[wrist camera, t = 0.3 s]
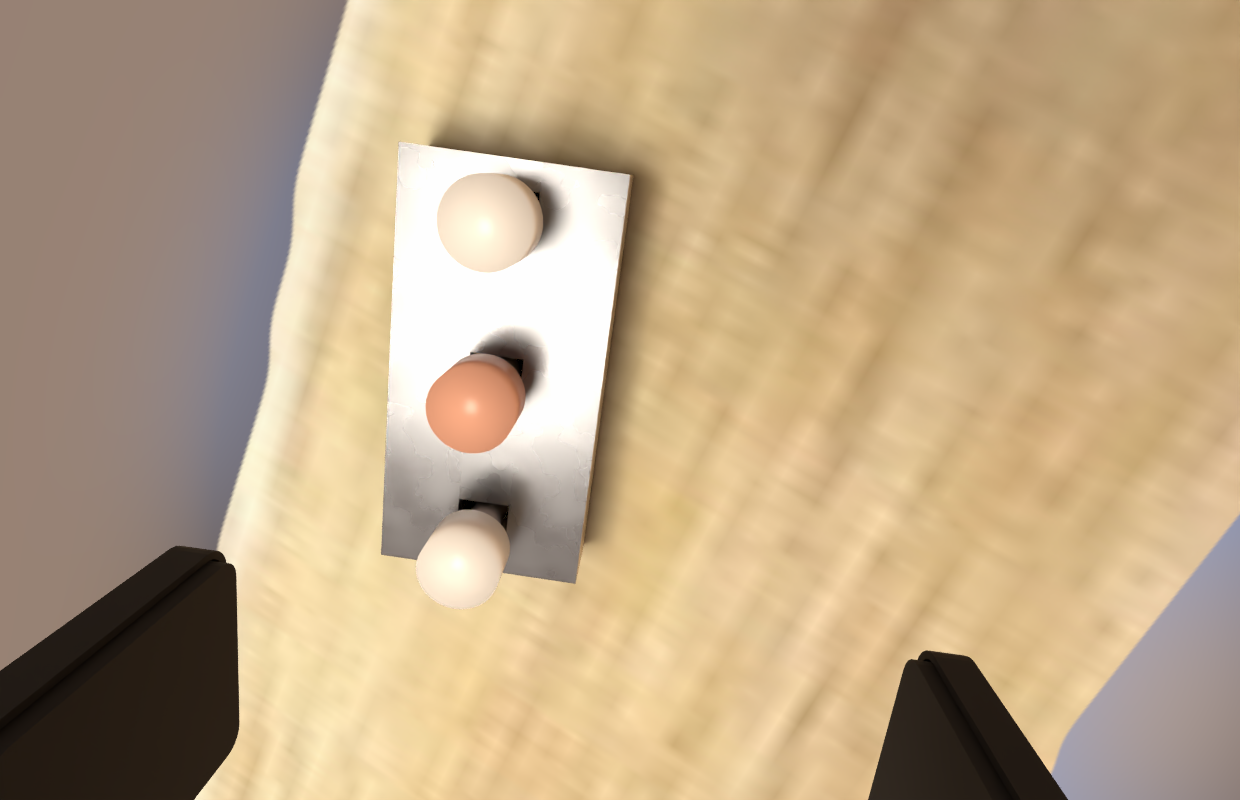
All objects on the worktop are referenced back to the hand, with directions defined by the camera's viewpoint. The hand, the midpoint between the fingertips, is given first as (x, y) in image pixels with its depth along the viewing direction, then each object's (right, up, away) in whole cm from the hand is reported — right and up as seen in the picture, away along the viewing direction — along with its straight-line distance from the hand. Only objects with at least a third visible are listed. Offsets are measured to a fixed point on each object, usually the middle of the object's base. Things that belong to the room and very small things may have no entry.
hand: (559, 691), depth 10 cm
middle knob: (-6, +6, +33) cm, 34 cm away
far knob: (-7, -3, +36) cm, 37 cm away
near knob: (-5, +14, +30) cm, 34 cm away
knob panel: (-6, +7, +35) cm, 37 cm away
